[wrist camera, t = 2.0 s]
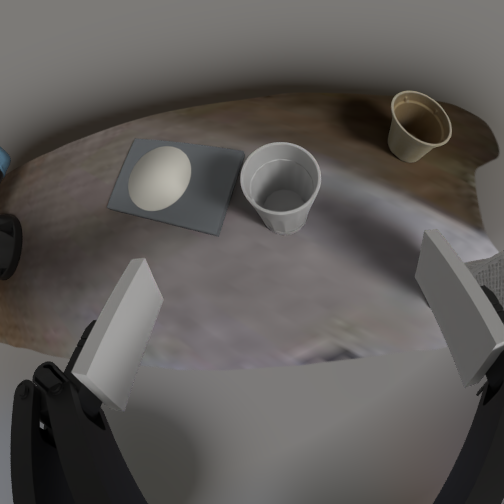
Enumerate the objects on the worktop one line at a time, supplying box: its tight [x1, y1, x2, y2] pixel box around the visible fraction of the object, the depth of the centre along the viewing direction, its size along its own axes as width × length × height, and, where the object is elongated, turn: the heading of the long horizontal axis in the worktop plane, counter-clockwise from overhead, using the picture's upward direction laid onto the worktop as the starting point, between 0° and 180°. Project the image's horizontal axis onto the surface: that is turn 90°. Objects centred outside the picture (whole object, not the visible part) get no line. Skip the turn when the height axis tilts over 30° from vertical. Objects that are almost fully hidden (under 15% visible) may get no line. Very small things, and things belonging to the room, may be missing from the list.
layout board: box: [107, 139, 245, 237], centre depth 42 cm, size 20×13×1 cm, turn 74°
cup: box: [240, 142, 321, 235], centre depth 33 cm, size 8×8×12 cm
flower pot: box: [388, 91, 452, 162], centre depth 34 cm, size 9×9×9 cm
